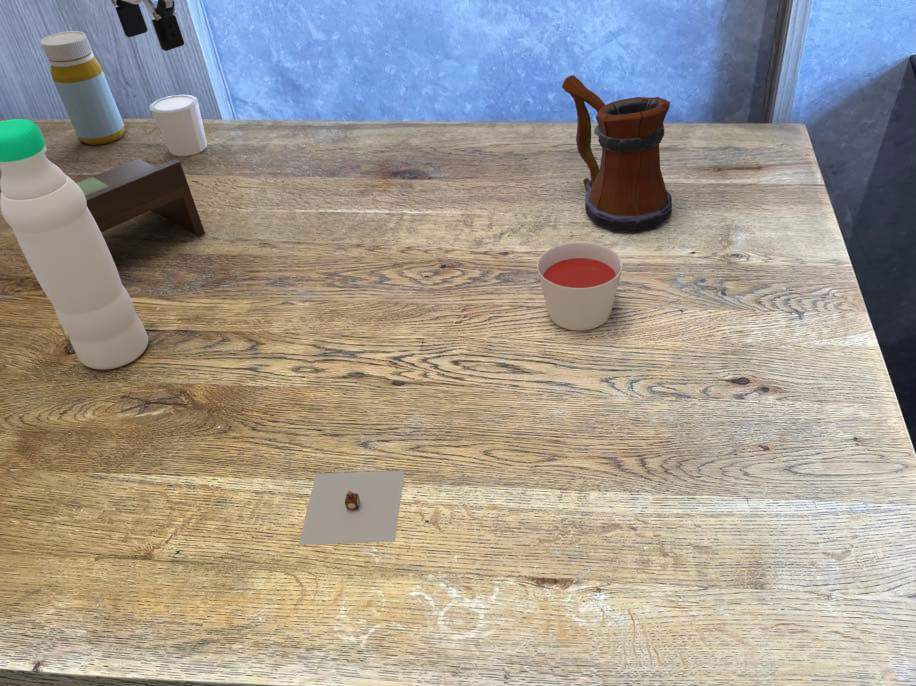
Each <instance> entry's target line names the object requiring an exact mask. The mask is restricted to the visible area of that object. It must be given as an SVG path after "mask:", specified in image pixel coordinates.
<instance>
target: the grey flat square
mask: <svg viewBox="0 0 916 686" xmlns="http://www.w3.org/2000/svg"><path fill="white" fill-rule="evenodd" d="M404 478H405V470H387V471H386V470H385V471H384V470H383V471H365V472H364V471H360V472H359V471H358V472H357V471H355V472H335V473H333V472H331V473H329V472H328V473H316V474H315V476H314V480H313V485H312V488H311V493H310V497H309V501H308V504H307V508H306V513H305V516H304V521H303V524H302V529H301V533H300V536H299V541H298V546H307V545H308V546H309V545H311V546H312V545H336V544H337V545H338V544H362V543H363V544H364V543H365V544H366V543H387V542H388V543H389V542H390V543H392V542H396V536H397V527H398V521H399V514H400V506H401V500H402V493H403V486H404V485H403V484H404Z"/></svg>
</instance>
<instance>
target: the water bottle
mask: <svg viewBox="0 0 916 686" xmlns="http://www.w3.org/2000/svg"><path fill="white" fill-rule="evenodd" d="M47 149H48V148H47V146H46V140H45V137H44V135H43V133H42V130H41V129H40V127H39V125H38V124H36V123H35V122H34V121H33V120H30V119H25V118H12V119H8V120H7V119H5V120H1V121H0V171H1V176H0V191H1V192H0V211H1V215H2V217H3V219H4V220H5V222H6V223H7V225H9V226H10V227H11V228H12V230H13V233H14V236H15V238H16V240H17V241H16V242H17V243H18V245H19V247H20V250H21V251H22V254H23V256H24V257H25V260H26V262H27V263H28V265H29V267H30V269H31V271H32V273H33V275H34V277H35V279H36V280H37V282H38V284H39V286H40V287H41V289H42V290H43V291H42V292H44V294H45V296H46V298H47V299H48V300H49V301H50V303H51V305H52V306H53V308H54V312H55V315H56V318H57V320H58V322H59V324H60V325H61V327H62V329H63V330H64V331H65V333H66V334H67V335H68V337H69V340H70V343H71V346H72V348H73V351H74V352H75V354H76V356H77V358H78V360H79V361H80V363H82V365H84V366H85V367H87V368H90V369H94V370H101V371H102V370H113V369H117V368H118V369H119V368H121V367H123V366H126V365H128V364H130V363H133V362H134V361H136V360H137V359H138V358H139V357H140V356H141V355H142V354H143V353H145V351H146V350H147V347H148V344H149V336H148V335H149V334H148V332H147V331H146V328H145V326H144V324H143V322H142V320H141V319H140V317H139V316H138V314H137V313H136V310H135V306H134V302H133V300H132V298H131V296H130V294H129V292H128V290H127V288H125V286H124V285H123V284H122V283H123V282H122V280H121V277H120V274H119V271H118V268H117V265H116V263H115V260H114V258H113V256H112V254H111V252H110V249H109V247H108V244H107V242H106V241H105V238H104V235H103V233H102V232H100V229H99V227H98V225H97V224H96V222H95V220H94V218H93V216H92V214H91V213H90V211H89V209H88V208H87V202H86V198H85V195H84V193H83V191H82V190H81V188H80V187H79V186H78V185H77V184H76V183H77V182H75V181H74V180H73V179H72V178H71V177H70V176H68V175H67V174H66V173H64V171H63V170H62V169H61V168H60V167H59V166H57V165H56V164H54V162H52V161H51V160H49V159H48V157H47V154H46V153H47V151H48V150H47Z"/></svg>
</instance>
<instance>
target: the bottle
mask: <svg viewBox="0 0 916 686" xmlns="http://www.w3.org/2000/svg"><path fill="white" fill-rule="evenodd" d="M40 45H41V47H42V50H43V52H44V54H45V57H46V58H47V61H48V63H49V65H50V75H51V78H52V81H53V83H54V85H55V88H56V90H57V93H58V94H59V98H60V100H61V102H62V105H63V106H64V109H65V112H66V113H67V116H68V118H69V120H70V123H71V125H72V127H73V129H74V132H75V134H76V136H77V138H78V140H79V141H81V142H82V143H84V144H86V145H90V146H100V145H106V144H109V143H113V142H115V141H117V140H119V139H121V138H122V137H123V136H124V133H125V131H126V127H125V124H124V122H123V119H122V116H121V113H120V111H119V108H118V106H117V104H116V101H115V98H114V96H113V93H112V90H111V88H110V85H109V82H108V80H107V78H106V74H105V73H104V70H103V68H102V65H101V64H100V62H99V61H98V60H97V58H95V55H94V52H93V50H92V47H91V44H90V41H89V40H88V37H87V35H86V33H84V32H83V31H78V30H69V31H61V32H57V33H52V34H49V35H47V36H45V37H43V38H42V39H41V40H40Z"/></svg>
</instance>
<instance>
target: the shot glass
mask: <svg viewBox="0 0 916 686" xmlns="http://www.w3.org/2000/svg"><path fill="white" fill-rule="evenodd" d="M149 111H150V112H151V113H150V114H151V115H152V117H153V120H154V121H155V124H156V125H157V127H158V130H159V132H160V134H161V136H162V138H163V141H164V143H165V145H166V147H167V149H168V151H169V153H170V154H171V155H172V156H176V157H188V156H193V155H196V154H199V153H201V152H203V151H205V150H206V149H207V148H208V140H207V137H206V132H205V127H204V123H203V118H202V114H201V108H200V105H199V101H198V97H196V96H194V95H191V94H175V95H168V96H164V97H161V98H159V99H156V100H155V101H153V102H152V103H150V105H149Z"/></svg>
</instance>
